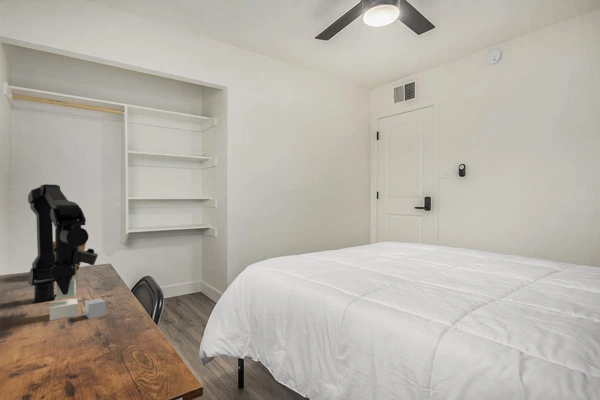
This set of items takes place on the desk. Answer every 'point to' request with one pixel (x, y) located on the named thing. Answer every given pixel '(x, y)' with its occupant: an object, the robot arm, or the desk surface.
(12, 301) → the desk surface
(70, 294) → the sage cube
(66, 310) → the cream block
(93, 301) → the grey cube
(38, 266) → the robot arm
